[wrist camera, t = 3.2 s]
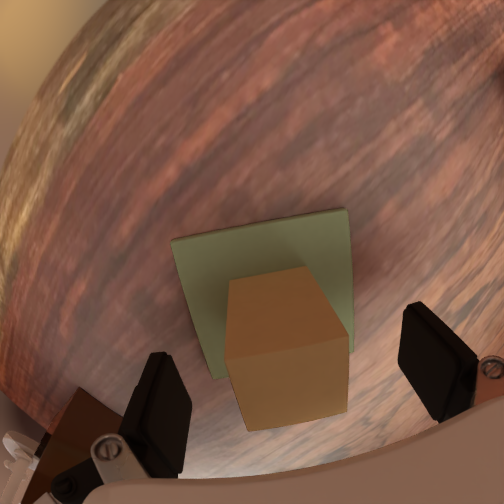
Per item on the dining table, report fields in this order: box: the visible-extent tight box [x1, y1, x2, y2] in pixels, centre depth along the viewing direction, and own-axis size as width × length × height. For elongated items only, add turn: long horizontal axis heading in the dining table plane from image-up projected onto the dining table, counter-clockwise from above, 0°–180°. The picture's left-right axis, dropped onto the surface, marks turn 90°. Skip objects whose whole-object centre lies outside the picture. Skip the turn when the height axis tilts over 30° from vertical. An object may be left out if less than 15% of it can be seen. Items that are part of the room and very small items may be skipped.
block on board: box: [170, 208, 354, 431], centre depth 12 cm, size 9×9×7 cm
